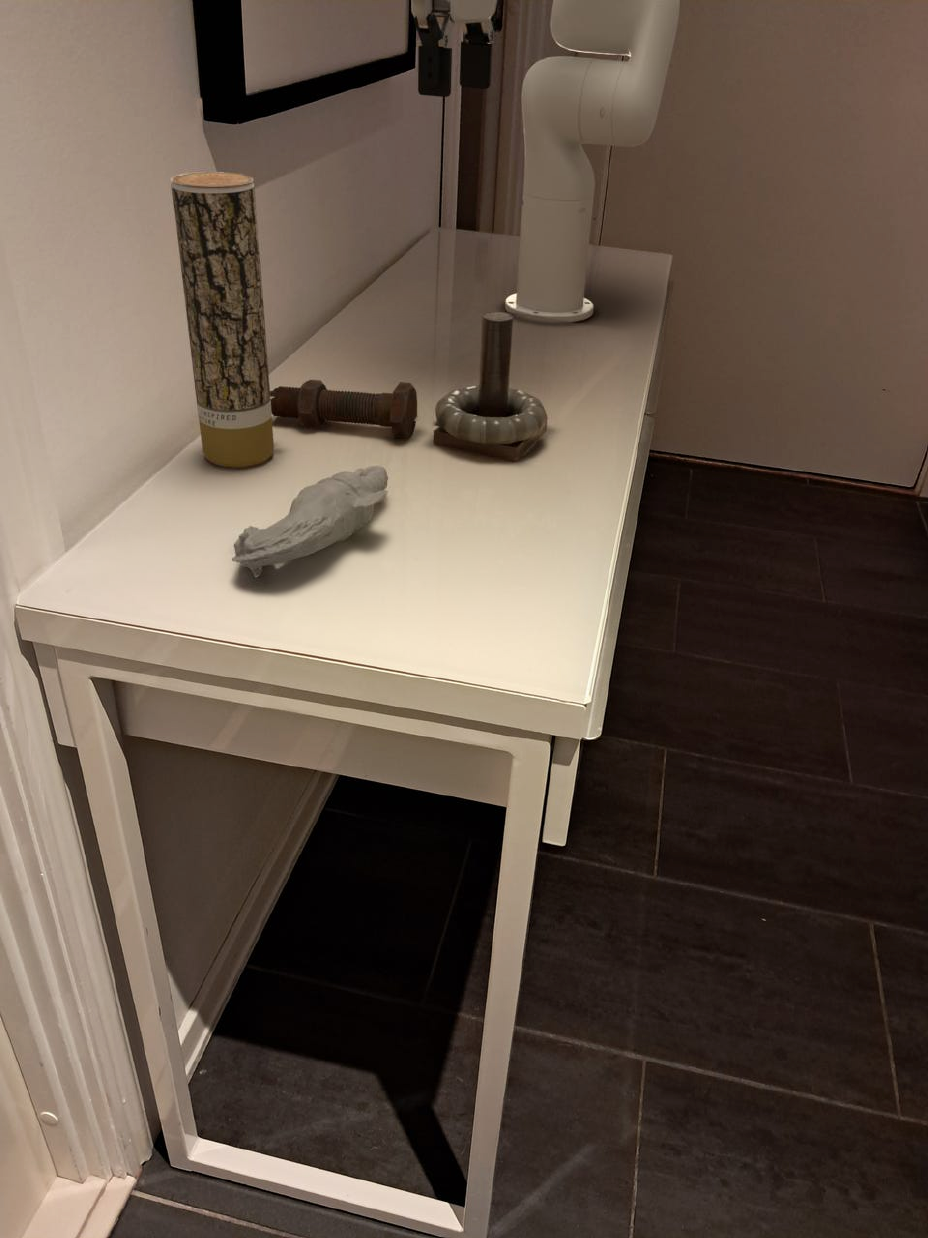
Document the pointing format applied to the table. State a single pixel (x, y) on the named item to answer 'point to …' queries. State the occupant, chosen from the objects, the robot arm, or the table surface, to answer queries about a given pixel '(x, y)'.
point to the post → (492, 389)
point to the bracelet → (490, 429)
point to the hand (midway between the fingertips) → (455, 91)
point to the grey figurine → (315, 519)
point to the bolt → (348, 406)
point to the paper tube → (225, 314)
